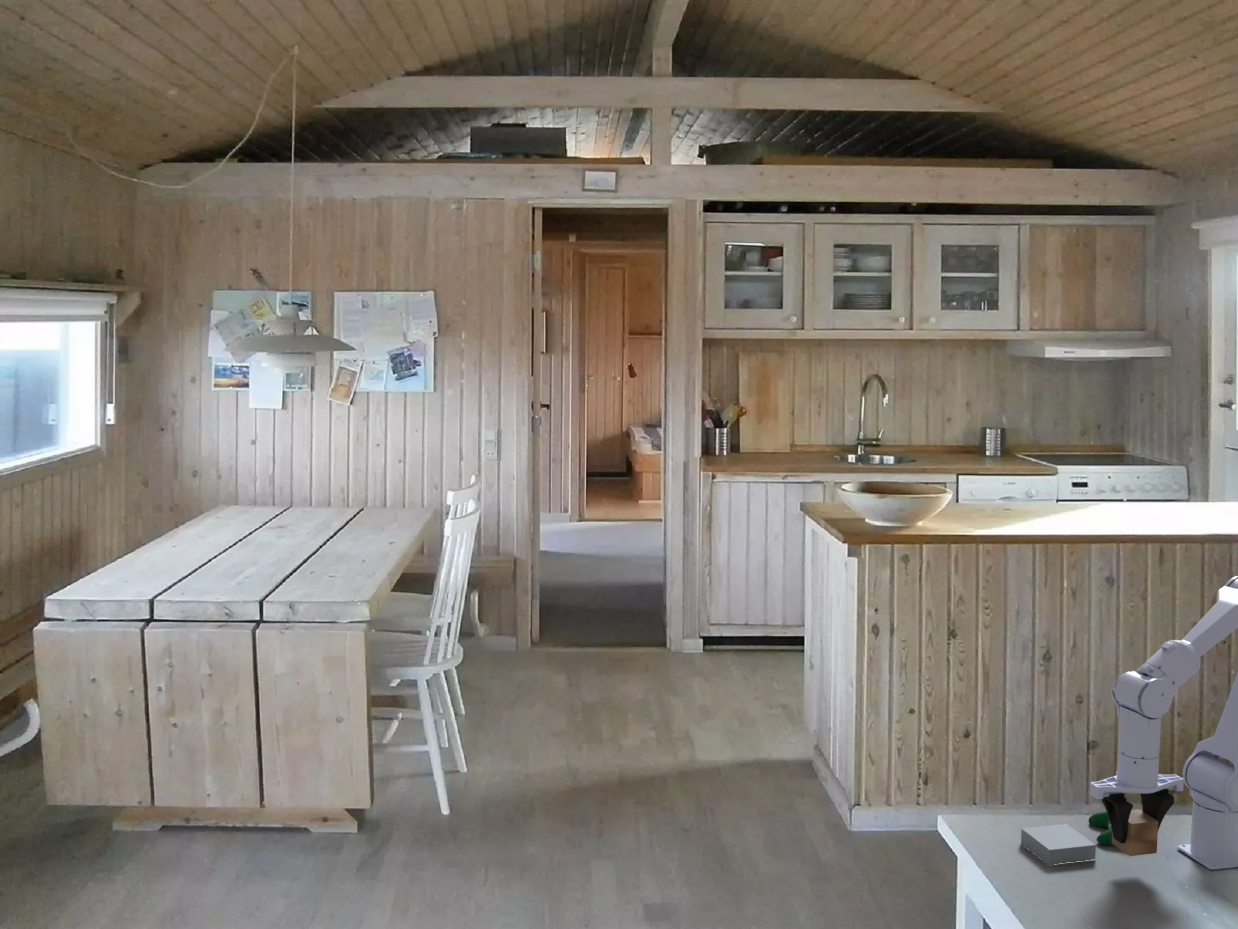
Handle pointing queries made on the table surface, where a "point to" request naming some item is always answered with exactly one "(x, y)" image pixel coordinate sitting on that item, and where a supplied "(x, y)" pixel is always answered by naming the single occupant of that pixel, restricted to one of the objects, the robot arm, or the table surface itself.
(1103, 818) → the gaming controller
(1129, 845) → the walnut block
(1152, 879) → the table surface
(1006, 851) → the table surface
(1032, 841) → the slate block
